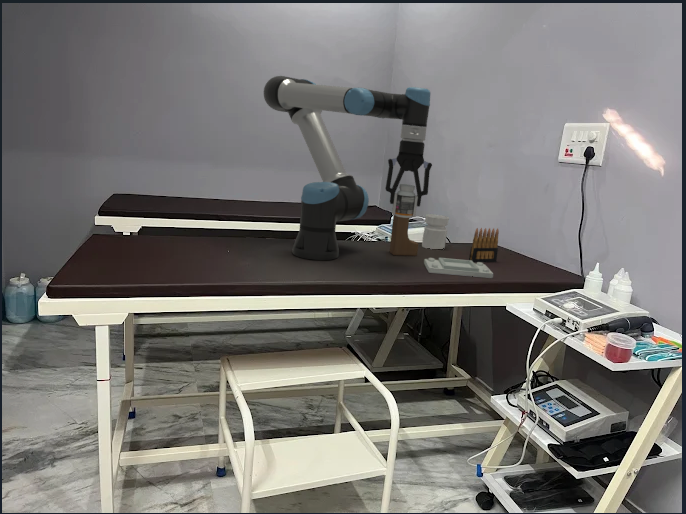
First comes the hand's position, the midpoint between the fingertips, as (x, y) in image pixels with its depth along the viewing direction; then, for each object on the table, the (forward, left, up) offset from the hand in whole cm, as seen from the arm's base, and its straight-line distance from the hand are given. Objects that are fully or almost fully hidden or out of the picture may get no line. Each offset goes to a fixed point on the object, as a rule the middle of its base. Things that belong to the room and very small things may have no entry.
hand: (403, 215), depth 175 cm
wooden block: (+3, +17, -16) cm, 24 cm away
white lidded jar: (+16, +34, -16) cm, 41 cm away
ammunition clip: (+31, +17, -16) cm, 39 cm away
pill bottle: (0, 0, -1) cm, 1 cm away
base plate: (+19, 0, -16) cm, 25 cm away
